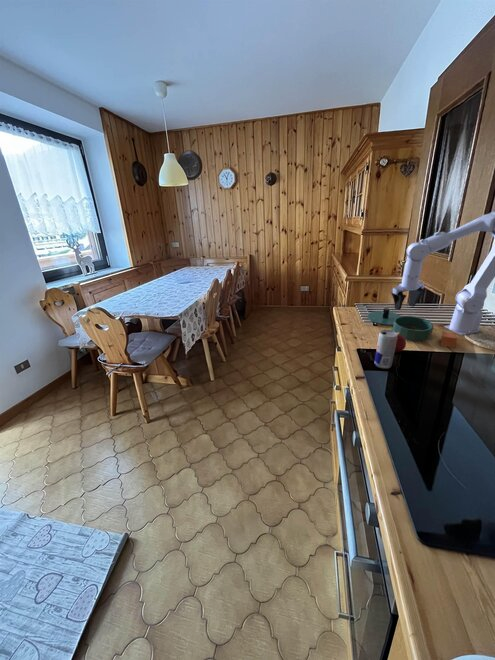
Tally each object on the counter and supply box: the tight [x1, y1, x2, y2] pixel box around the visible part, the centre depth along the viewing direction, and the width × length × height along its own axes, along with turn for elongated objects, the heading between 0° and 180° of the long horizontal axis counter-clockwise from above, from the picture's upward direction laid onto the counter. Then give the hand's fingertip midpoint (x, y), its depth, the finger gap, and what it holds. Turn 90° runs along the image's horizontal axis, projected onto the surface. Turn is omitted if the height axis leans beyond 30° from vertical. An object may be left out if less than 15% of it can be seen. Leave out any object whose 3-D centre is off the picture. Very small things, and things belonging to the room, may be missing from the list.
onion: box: [394, 332, 407, 353], centre depth 100 cm, size 6×6×8 cm
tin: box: [391, 315, 434, 342], centre depth 112 cm, size 13×13×5 cm
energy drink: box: [373, 329, 398, 370], centre depth 93 cm, size 5×5×12 cm
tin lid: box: [367, 307, 402, 326], centre depth 124 cm, size 14×14×5 cm
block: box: [440, 331, 458, 348], centre depth 103 cm, size 4×4×4 cm
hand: (404, 307), depth 116 cm, fingers open, 7 cm apart
